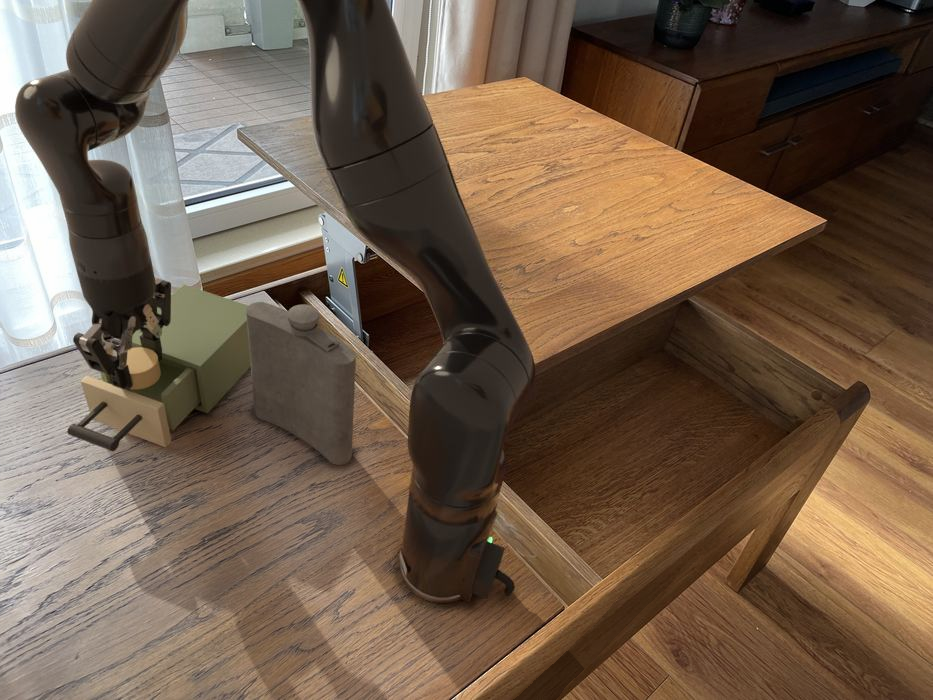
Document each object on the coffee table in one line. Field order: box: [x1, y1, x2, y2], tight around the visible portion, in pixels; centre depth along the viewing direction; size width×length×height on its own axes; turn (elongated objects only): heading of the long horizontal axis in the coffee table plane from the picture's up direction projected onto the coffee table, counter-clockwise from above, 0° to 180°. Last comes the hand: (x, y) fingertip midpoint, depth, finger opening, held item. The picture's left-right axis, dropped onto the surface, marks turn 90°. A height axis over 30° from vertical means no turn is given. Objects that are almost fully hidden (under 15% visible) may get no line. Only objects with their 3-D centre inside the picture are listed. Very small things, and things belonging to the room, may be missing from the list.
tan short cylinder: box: [115, 347, 161, 390], centre depth 88 cm, size 5×5×3 cm
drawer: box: [66, 347, 201, 452], centre depth 91 cm, size 18×11×7 cm, turn 161°
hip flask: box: [246, 301, 357, 466], centre depth 89 cm, size 16×4×20 cm, turn 58°
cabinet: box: [118, 284, 251, 414], centre depth 99 cm, size 14×12×9 cm
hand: (139, 372), depth 88 cm, fingers closed on tan short cylinder, 5 cm apart
